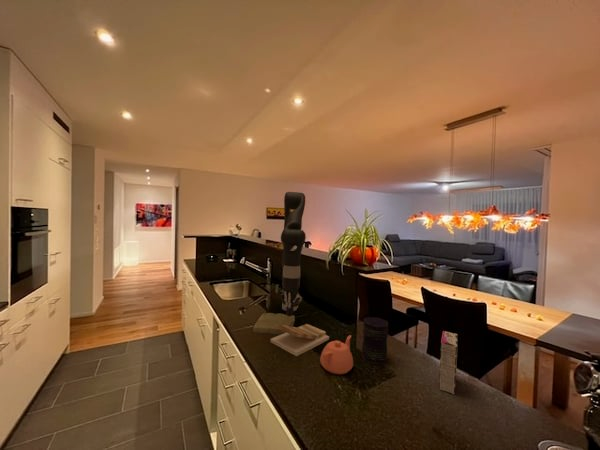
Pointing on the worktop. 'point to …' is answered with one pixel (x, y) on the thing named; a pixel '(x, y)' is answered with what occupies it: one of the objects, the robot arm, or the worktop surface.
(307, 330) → the light oak plank
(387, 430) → the worktop surface
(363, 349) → the storage jar
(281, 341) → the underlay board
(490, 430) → the worktop surface
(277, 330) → the decorative tile
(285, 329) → the honey oak plank
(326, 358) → the teapot
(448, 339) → the candy bar box
